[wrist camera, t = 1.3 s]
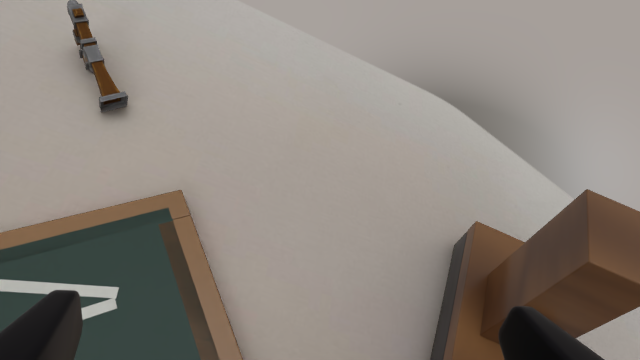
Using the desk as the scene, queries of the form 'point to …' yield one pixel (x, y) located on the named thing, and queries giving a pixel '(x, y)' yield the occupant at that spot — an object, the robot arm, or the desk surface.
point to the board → (123, 281)
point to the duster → (541, 277)
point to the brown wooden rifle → (94, 59)
